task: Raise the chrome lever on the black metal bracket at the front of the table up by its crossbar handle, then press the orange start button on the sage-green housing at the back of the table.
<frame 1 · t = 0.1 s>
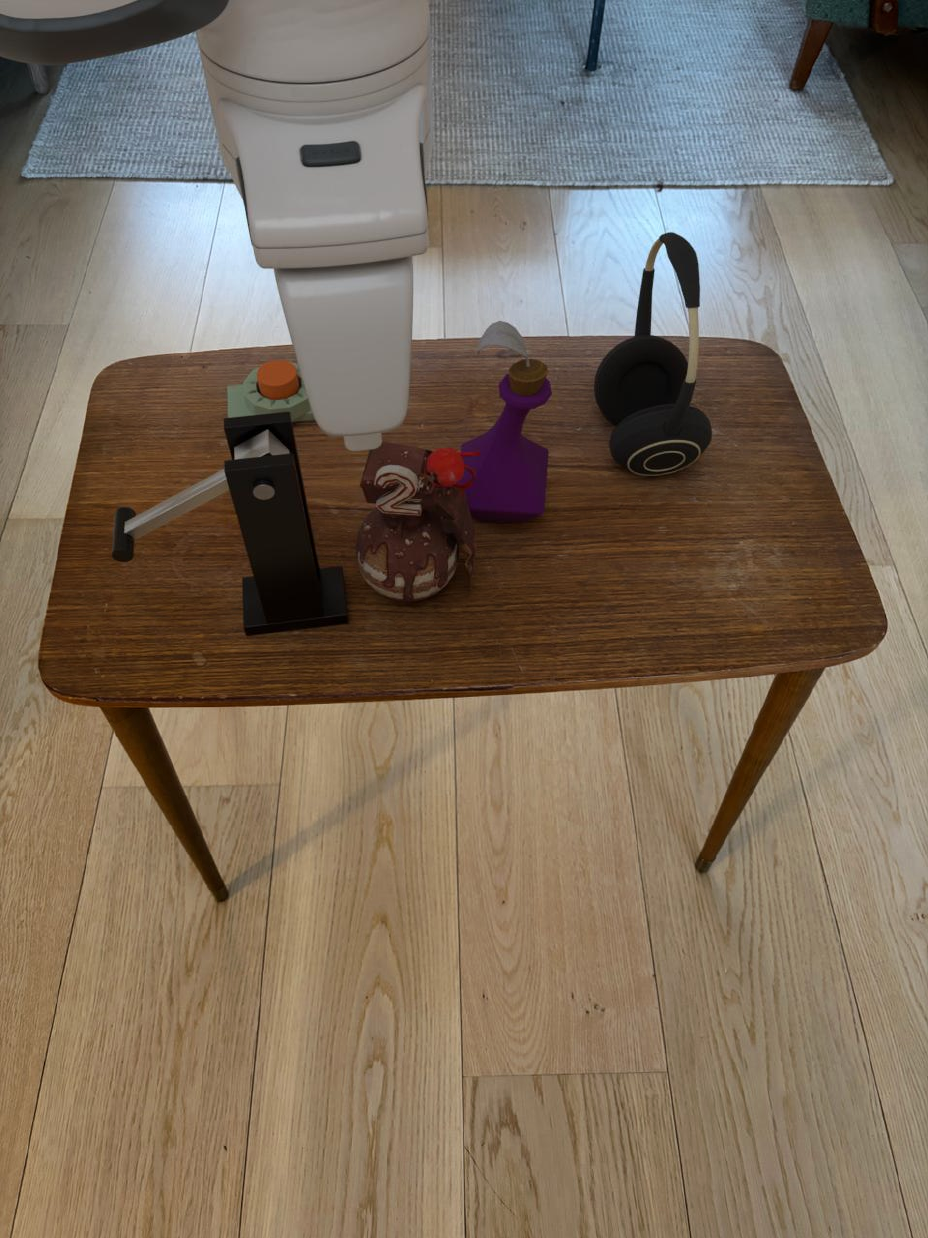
hand: (354, 376, 51), 29 cm above the table, tool pointing down, fingers open, 8 cm apart
perfume bottle: (500, 505, 85), on the table
button box: (283, 405, 92), on the table
lever: (195, 496, 67), point 13 cm above the table, hinge at -28.0°
chocolate birthday cake: (418, 583, 80), on the table
headphones: (643, 447, 89), on the table
bracket: (296, 604, 79), on the table
button: (278, 379, 90), point 3 cm above the table, slide at 0.1 cm
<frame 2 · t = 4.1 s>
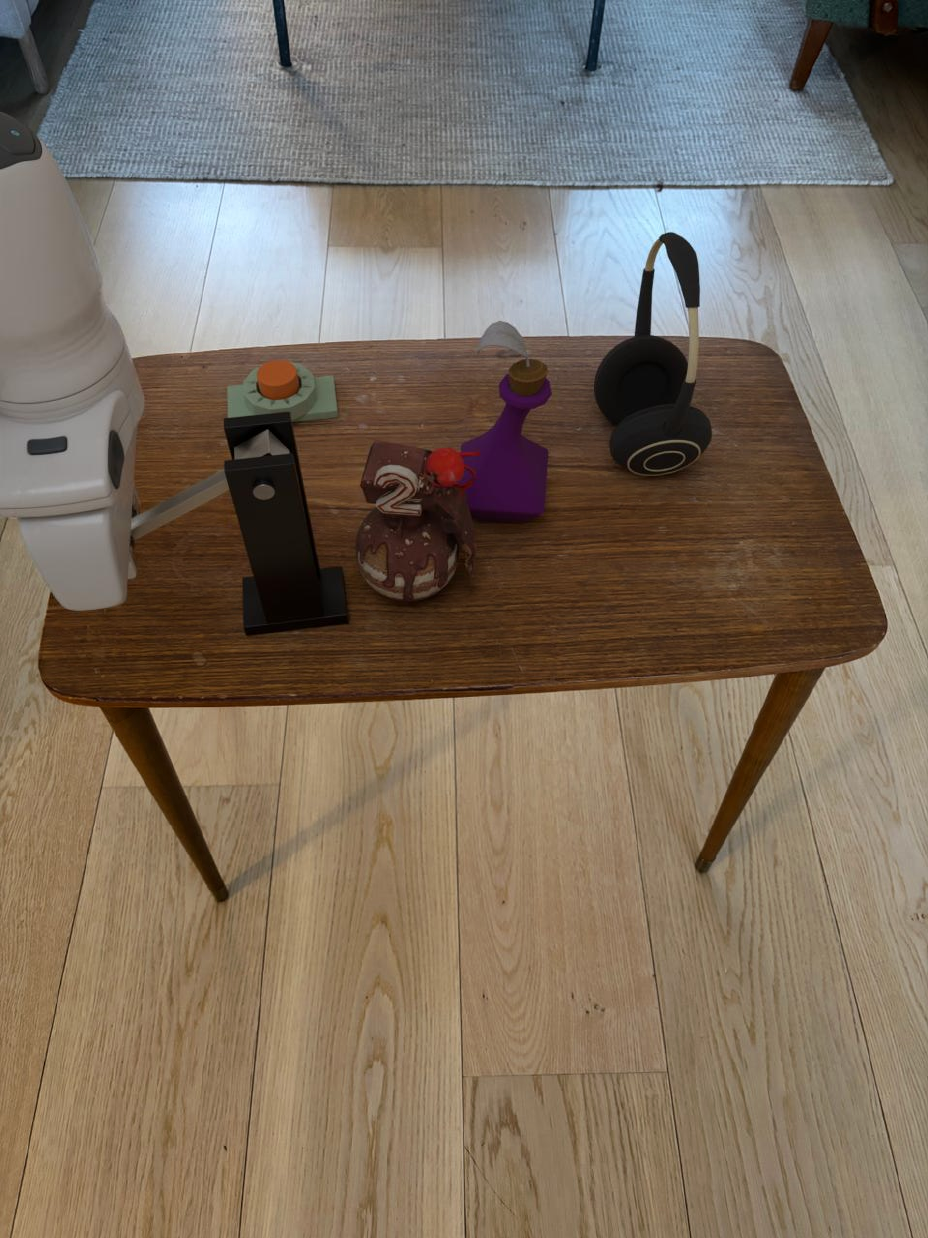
hand: (127, 543, 70), 9 cm above the table, tool pointing down, fingers closed on lever, 4 cm apart
lever: (195, 496, 67), point 13 cm above the table, hinge at -28.0°, touching gripper
everything else where it was.
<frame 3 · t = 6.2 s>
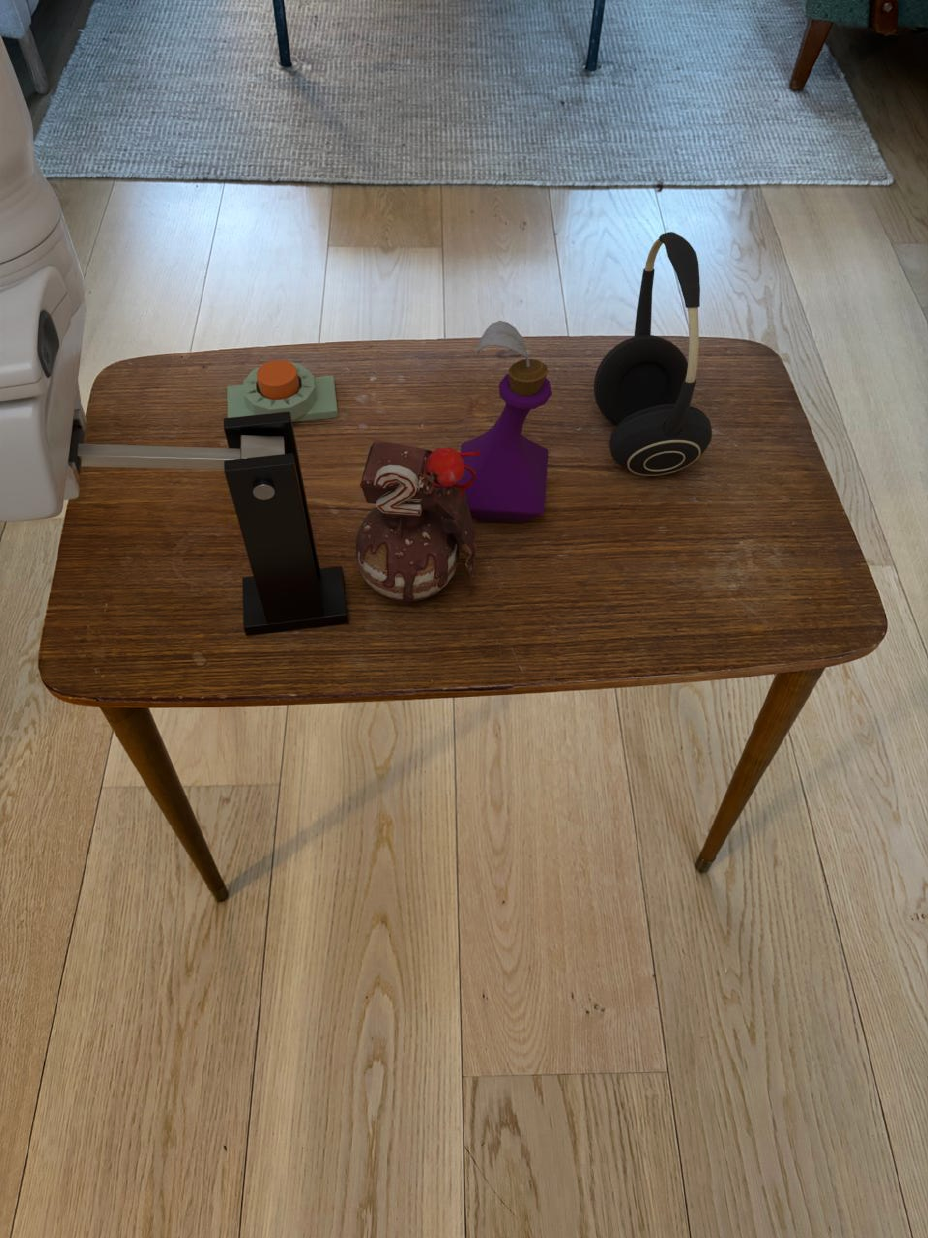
hand: (70, 461, 63), 18 cm above the table, tool pointing down, fingers closed on lever, 4 cm apart
lever: (174, 457, 64), point 17 cm above the table, hinge at 10.9°, touching gripper
everything else where it was.
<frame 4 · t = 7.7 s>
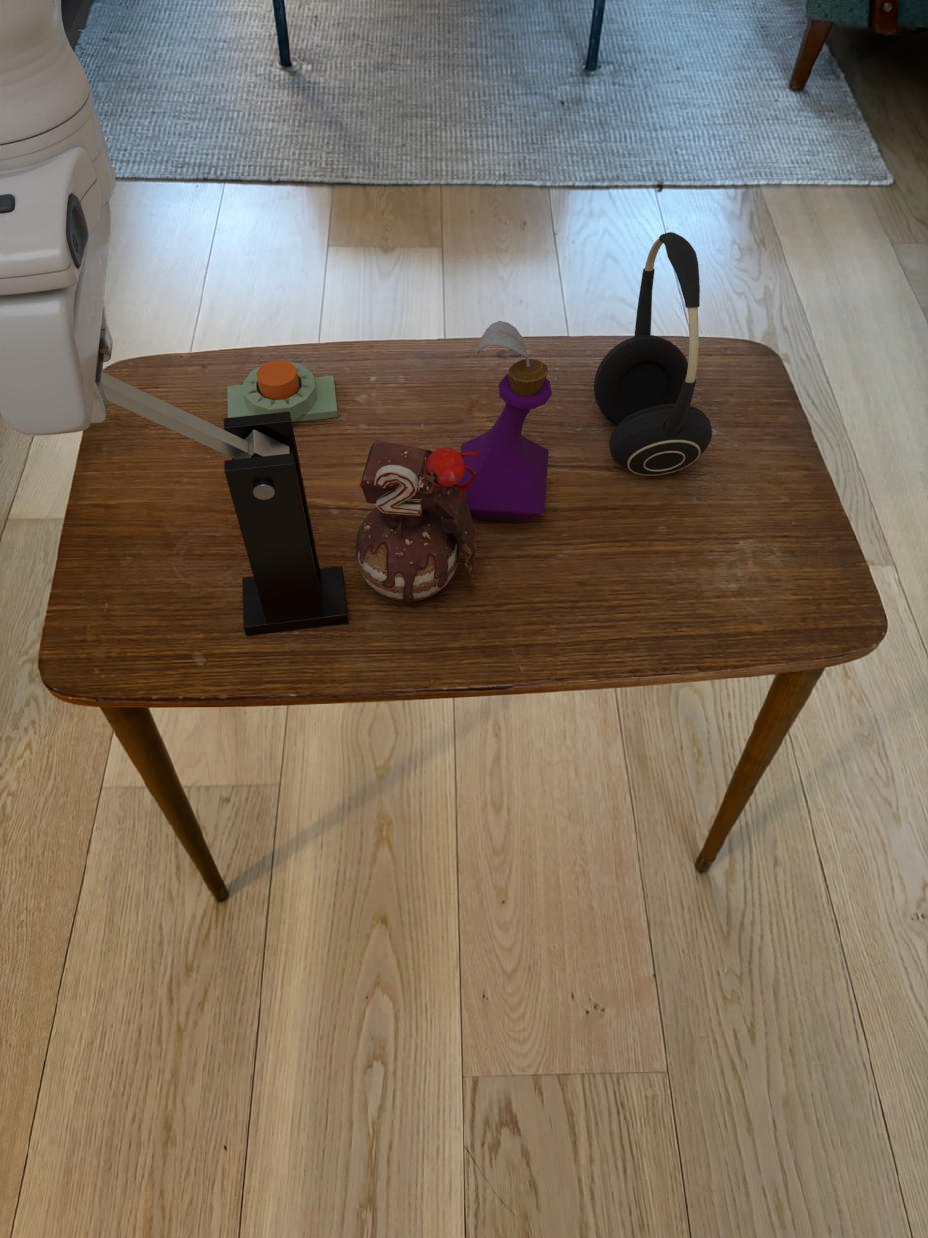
hand: (96, 384, 59), 24 cm above the table, tool pointing down, fingers closed on lever, 4 cm apart
lever: (185, 423, 62), point 20 cm above the table, hinge at 42.2°, touching gripper
everything else where it was.
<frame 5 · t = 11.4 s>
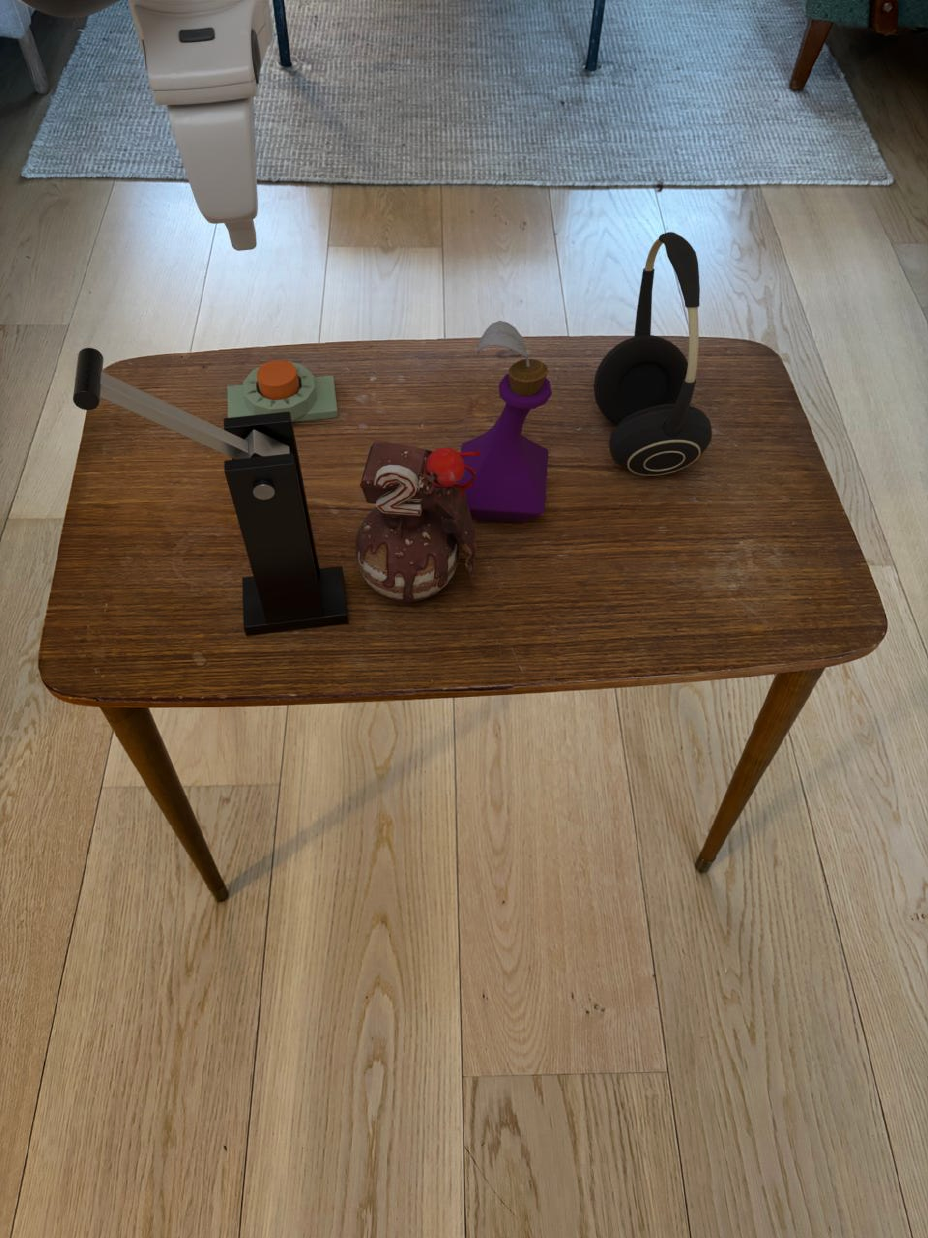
hand: (244, 208, 75), 20 cm above the table, tool pointing down, fingers open, 8 cm apart
lever: (185, 424, 62), point 20 cm above the table, hinge at 42.1°
everything else where it was.
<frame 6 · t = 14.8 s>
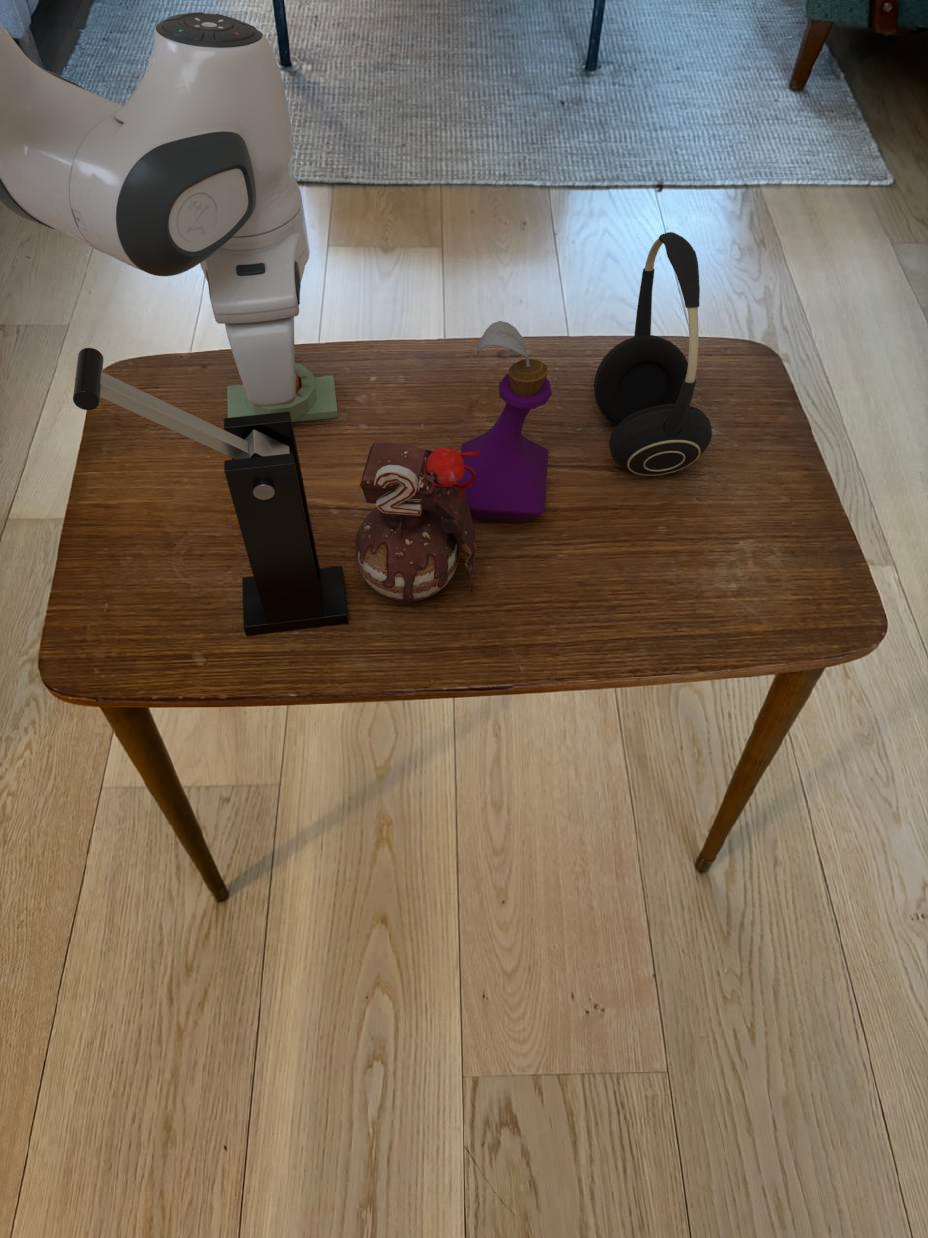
hand: (278, 375, 90), 4 cm above the table, tool pointing down, fingers closed, pressing on button
button: (278, 383, 90), point 3 cm above the table, slide at -0.3 cm, touching gripper
everything else where it was.
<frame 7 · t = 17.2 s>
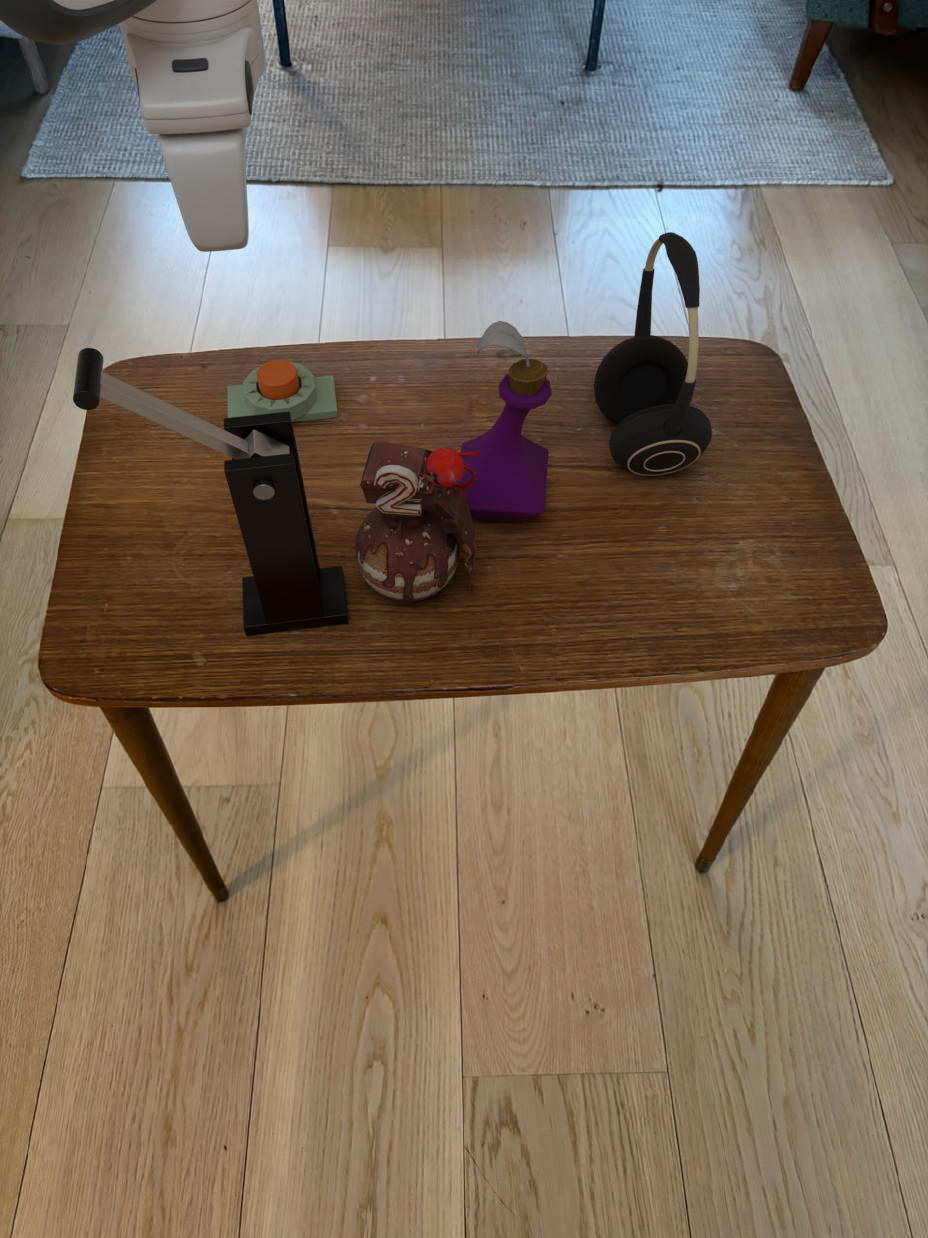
hand: (232, 234, 75), 19 cm above the table, tool pointing down, fingers closed
button: (278, 379, 90), point 3 cm above the table, slide at 0.1 cm
everything else where it was.
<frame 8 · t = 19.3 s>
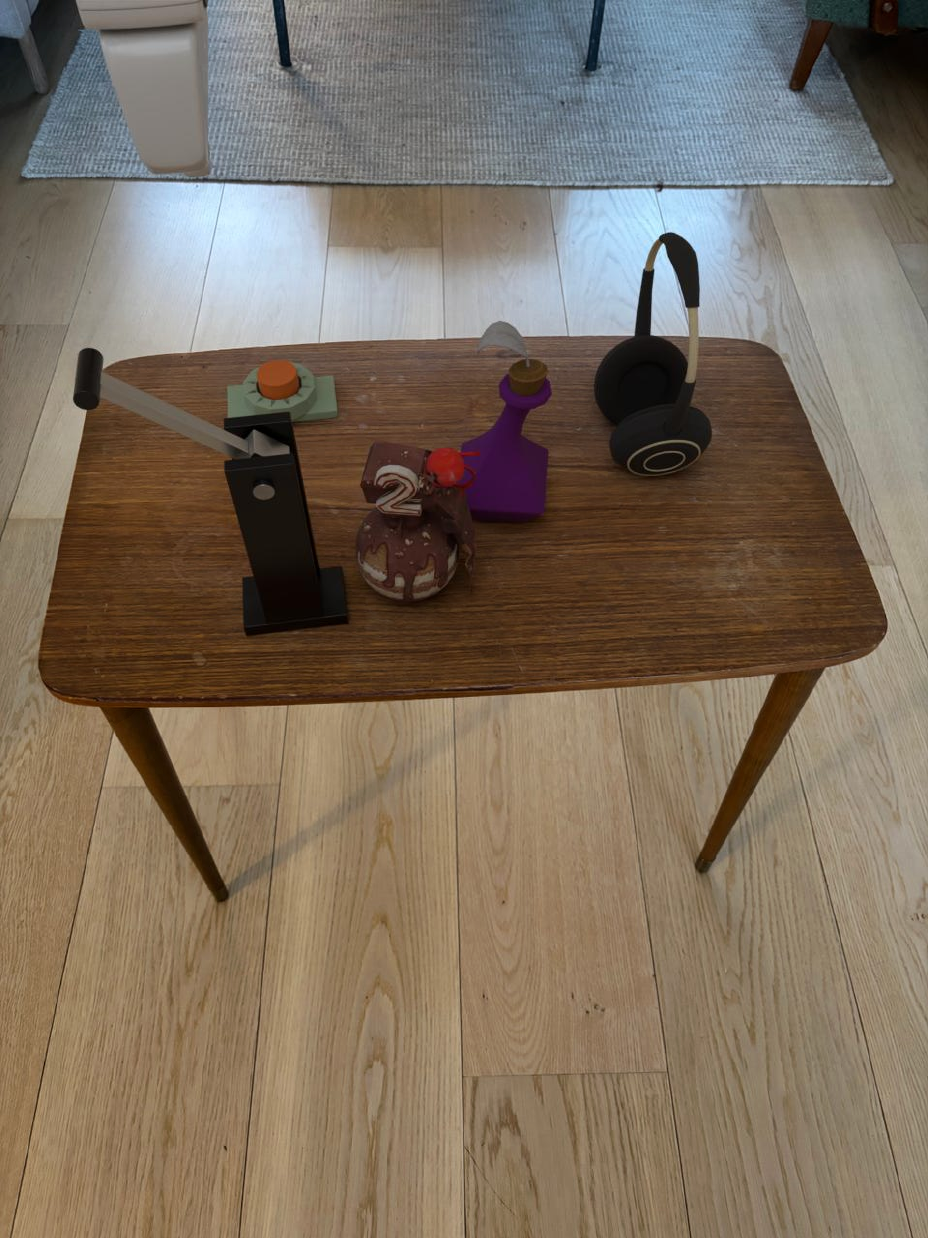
hand: (197, 165, 67), 27 cm above the table, tool pointing down, fingers closed
nothing on the table moved.
at the end: lever at +42° (first picture: -28°); button pushed in 0.8 cm at the most during the clip, back to where it started at the end; button slide at 0.1 cm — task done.
